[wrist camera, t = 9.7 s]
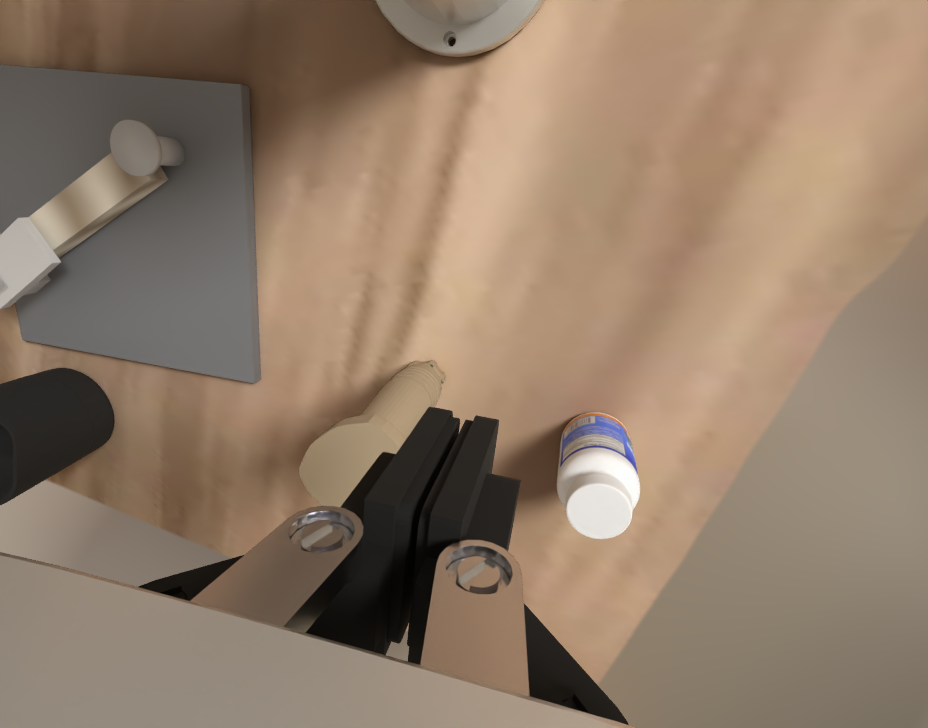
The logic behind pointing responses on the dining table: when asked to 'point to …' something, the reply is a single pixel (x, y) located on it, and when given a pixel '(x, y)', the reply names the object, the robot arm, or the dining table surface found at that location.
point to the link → (91, 203)
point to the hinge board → (134, 219)
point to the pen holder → (48, 426)
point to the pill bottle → (597, 475)
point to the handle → (369, 433)
